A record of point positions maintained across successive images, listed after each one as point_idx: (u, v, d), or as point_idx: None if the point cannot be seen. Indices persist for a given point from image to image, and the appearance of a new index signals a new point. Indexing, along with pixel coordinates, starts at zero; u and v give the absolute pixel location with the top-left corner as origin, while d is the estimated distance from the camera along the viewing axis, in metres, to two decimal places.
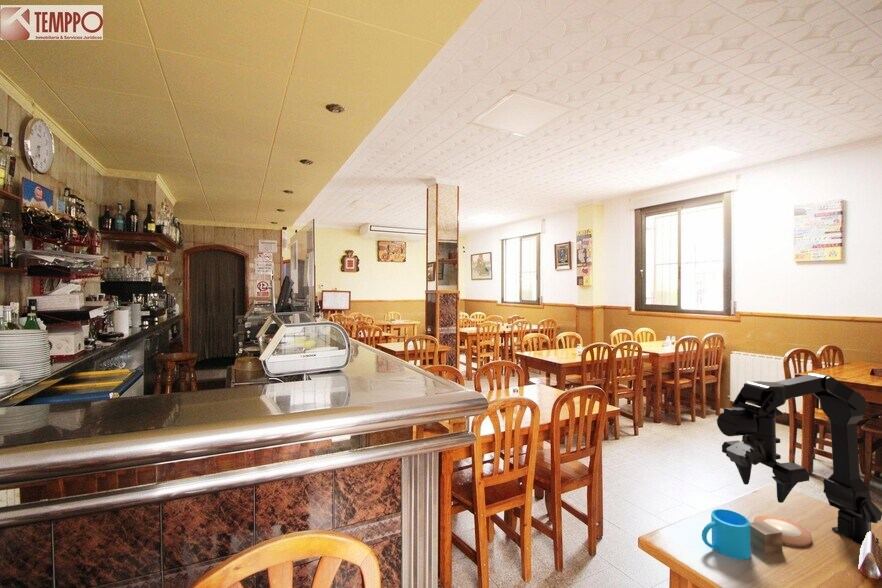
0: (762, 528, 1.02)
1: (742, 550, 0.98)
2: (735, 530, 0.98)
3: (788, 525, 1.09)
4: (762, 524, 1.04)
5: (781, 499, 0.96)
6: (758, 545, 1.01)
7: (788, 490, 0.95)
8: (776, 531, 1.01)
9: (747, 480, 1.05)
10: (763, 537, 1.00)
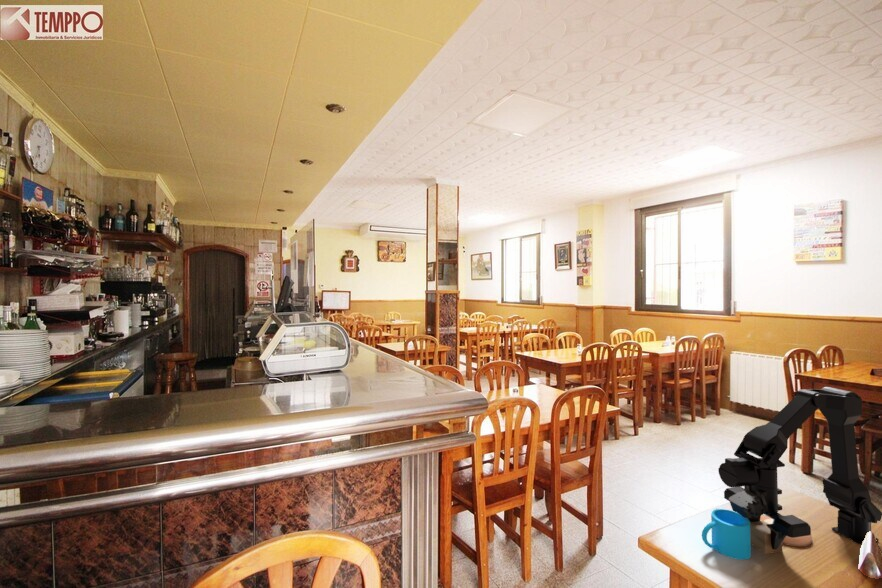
0: (762, 527, 1.02)
1: (742, 550, 0.98)
2: (735, 530, 0.98)
3: None
4: (762, 524, 1.04)
5: (775, 546, 0.99)
6: (758, 545, 1.01)
7: (782, 538, 0.99)
8: None
9: None
10: (763, 536, 1.00)
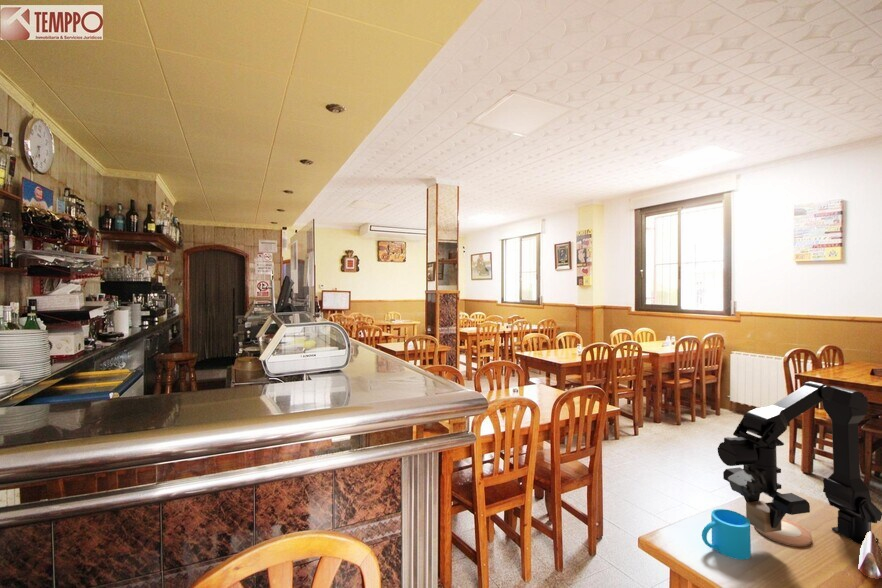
0: (761, 507, 1.02)
1: (742, 550, 0.98)
2: (735, 530, 0.98)
3: (788, 525, 1.09)
4: (761, 503, 1.04)
5: (774, 525, 0.99)
6: (757, 524, 1.01)
7: (781, 516, 0.99)
8: None
9: None
10: (762, 515, 1.00)
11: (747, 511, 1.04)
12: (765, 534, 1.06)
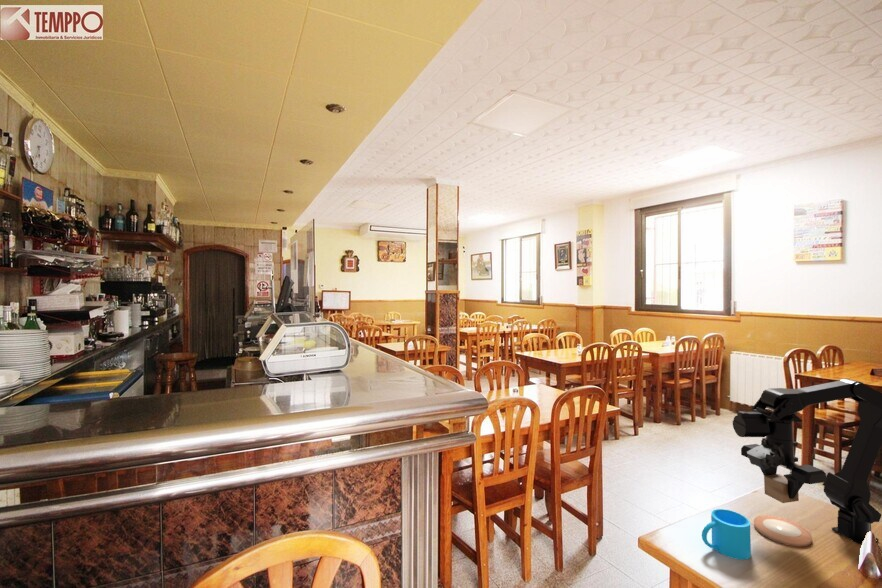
0: (779, 479, 1.07)
1: (742, 550, 0.98)
2: (735, 530, 0.98)
3: (788, 525, 1.09)
4: (778, 476, 1.09)
5: (792, 496, 1.04)
6: (775, 495, 1.06)
7: (798, 487, 1.04)
8: None
9: None
10: (780, 487, 1.05)
11: (765, 484, 1.09)
12: (765, 534, 1.06)
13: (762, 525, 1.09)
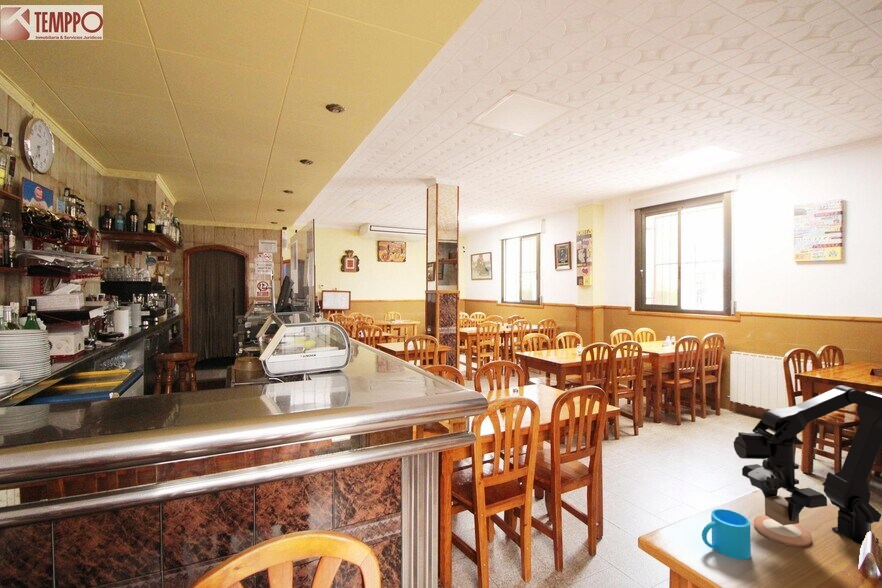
0: (779, 501, 1.08)
1: (742, 550, 0.98)
2: (735, 530, 0.98)
3: (788, 525, 1.09)
4: (779, 498, 1.09)
5: (793, 518, 1.05)
6: (776, 517, 1.07)
7: (799, 510, 1.04)
8: None
9: None
10: (781, 509, 1.05)
11: (766, 505, 1.09)
12: (765, 534, 1.06)
13: (762, 525, 1.09)
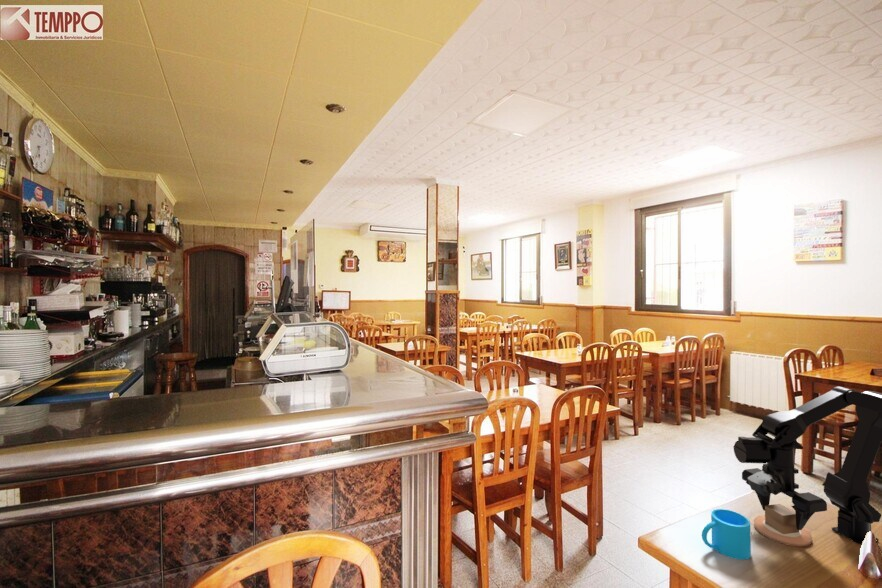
0: (780, 510, 1.08)
1: (742, 550, 0.98)
2: (735, 530, 0.98)
3: None
4: (779, 506, 1.09)
5: (800, 527, 1.03)
6: (776, 526, 1.07)
7: (806, 519, 1.02)
8: (793, 512, 1.06)
9: None
10: (781, 518, 1.05)
11: (766, 514, 1.10)
12: (765, 534, 1.06)
13: (762, 525, 1.09)
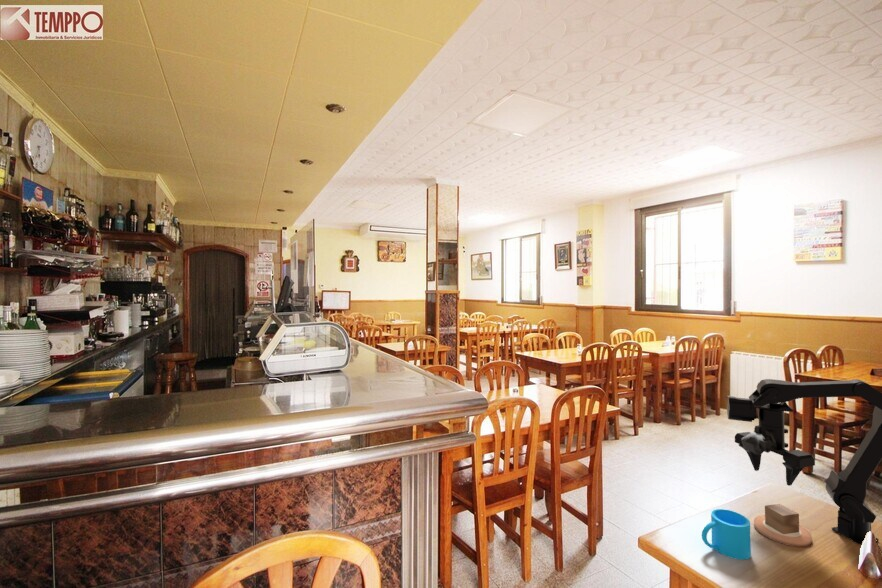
0: (780, 510, 1.08)
1: (742, 550, 0.98)
2: (735, 530, 0.98)
3: None
4: (779, 506, 1.09)
5: (790, 482, 1.09)
6: (776, 526, 1.07)
7: (796, 474, 1.09)
8: (793, 512, 1.06)
9: (757, 467, 1.19)
10: (781, 518, 1.05)
11: (766, 514, 1.10)
12: (765, 534, 1.06)
13: (762, 525, 1.09)
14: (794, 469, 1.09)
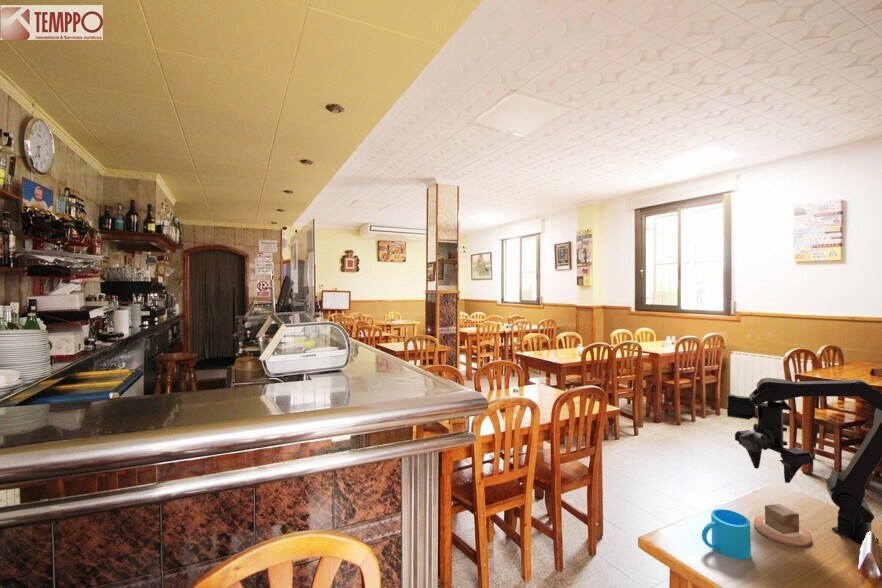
0: (780, 510, 1.08)
1: (742, 550, 0.98)
2: (735, 530, 0.98)
3: None
4: (779, 506, 1.09)
5: (788, 480, 1.10)
6: (776, 526, 1.07)
7: (794, 472, 1.10)
8: (793, 512, 1.06)
9: (757, 464, 1.20)
10: (781, 518, 1.05)
11: (766, 514, 1.10)
12: (765, 534, 1.06)
13: (762, 525, 1.09)
14: (792, 467, 1.10)
